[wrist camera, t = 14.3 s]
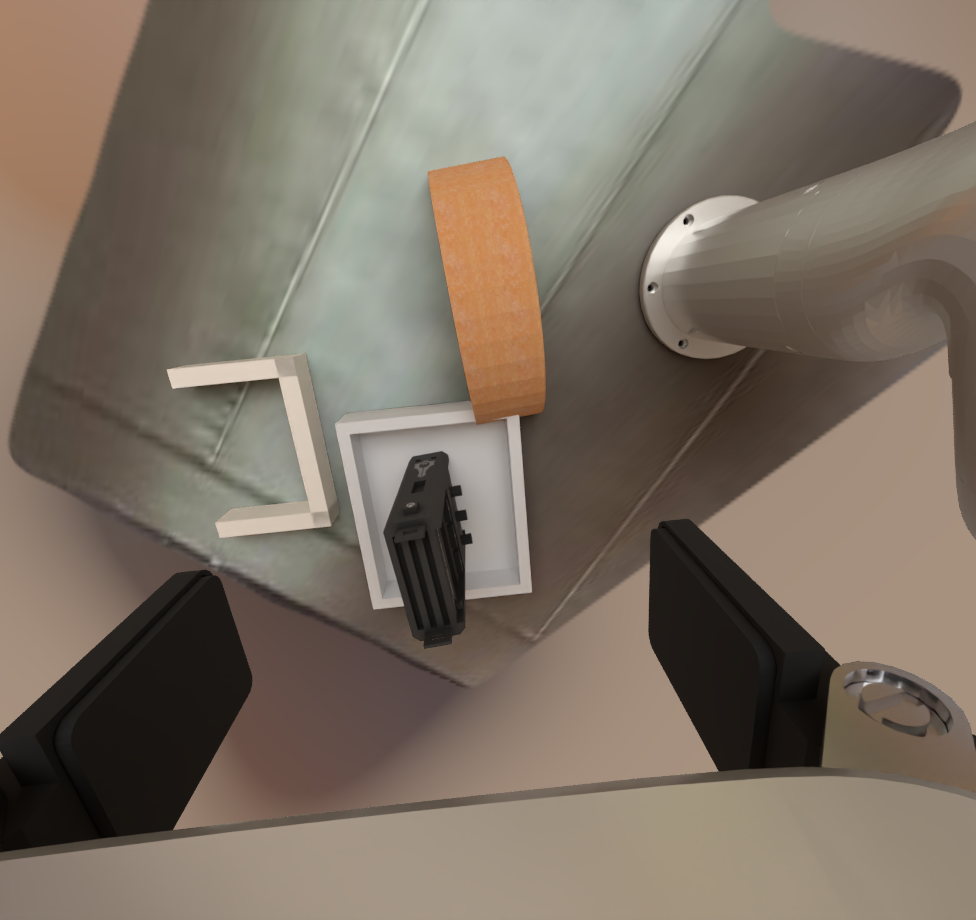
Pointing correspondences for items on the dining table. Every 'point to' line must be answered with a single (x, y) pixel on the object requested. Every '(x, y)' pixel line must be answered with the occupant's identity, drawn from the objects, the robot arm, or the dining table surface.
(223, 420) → the dining table surface
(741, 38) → the dining table surface
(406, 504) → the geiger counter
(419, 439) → the parts tray
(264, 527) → the cream piece
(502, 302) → the arch
